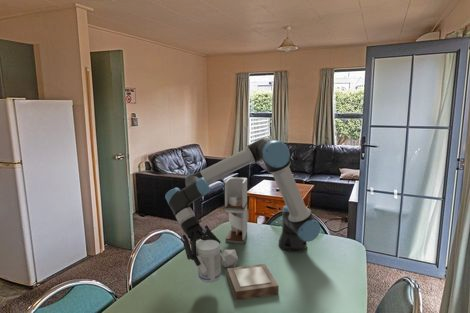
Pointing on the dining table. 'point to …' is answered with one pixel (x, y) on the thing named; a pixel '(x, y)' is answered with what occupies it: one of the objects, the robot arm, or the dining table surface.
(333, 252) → the dining table surface
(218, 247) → the supplement tub
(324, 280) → the dining table surface
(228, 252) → the die
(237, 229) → the display case
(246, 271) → the walnut platform
